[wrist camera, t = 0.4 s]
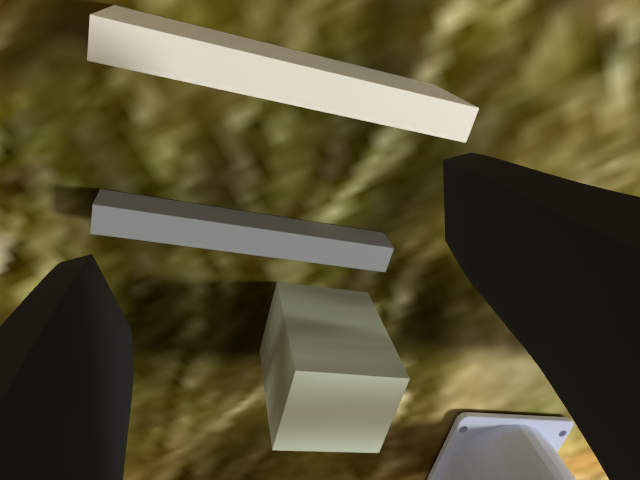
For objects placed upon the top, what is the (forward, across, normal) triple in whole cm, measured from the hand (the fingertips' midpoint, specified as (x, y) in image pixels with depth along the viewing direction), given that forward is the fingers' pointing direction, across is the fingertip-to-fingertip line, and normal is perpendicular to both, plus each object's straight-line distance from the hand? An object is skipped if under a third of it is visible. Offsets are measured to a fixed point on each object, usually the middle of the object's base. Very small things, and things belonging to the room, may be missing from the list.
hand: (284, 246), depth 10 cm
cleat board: (+10, -1, +2) cm, 11 cm away
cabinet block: (+10, -1, +11) cm, 15 cm away
